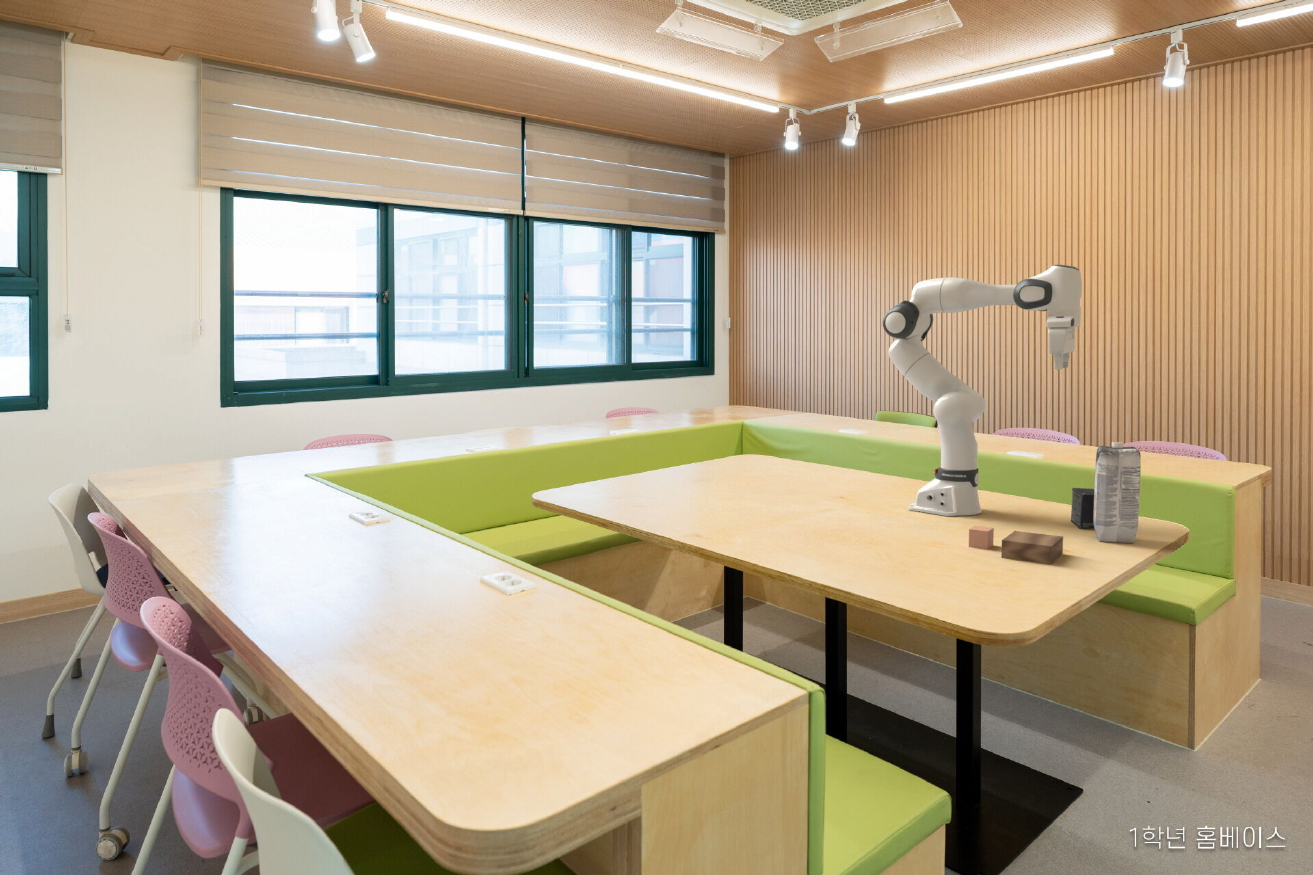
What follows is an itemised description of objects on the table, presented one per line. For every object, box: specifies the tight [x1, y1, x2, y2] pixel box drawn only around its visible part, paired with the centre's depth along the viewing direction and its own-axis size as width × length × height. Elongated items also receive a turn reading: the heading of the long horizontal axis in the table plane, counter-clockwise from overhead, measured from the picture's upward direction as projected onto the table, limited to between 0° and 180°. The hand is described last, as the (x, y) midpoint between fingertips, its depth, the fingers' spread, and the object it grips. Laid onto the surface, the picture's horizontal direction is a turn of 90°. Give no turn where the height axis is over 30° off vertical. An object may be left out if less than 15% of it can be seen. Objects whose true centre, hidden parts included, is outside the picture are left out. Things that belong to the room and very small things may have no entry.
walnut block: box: [1000, 530, 1064, 565], centre depth 223 cm, size 12×12×5 cm
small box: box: [1070, 487, 1095, 530], centre depth 254 cm, size 11×6×10 cm, turn 168°
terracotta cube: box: [968, 525, 995, 550], centre depth 234 cm, size 5×5×5 cm
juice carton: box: [1093, 441, 1142, 544], centre depth 236 cm, size 9×10×27 cm
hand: (1061, 368), depth 252 cm, fingers open, 8 cm apart
